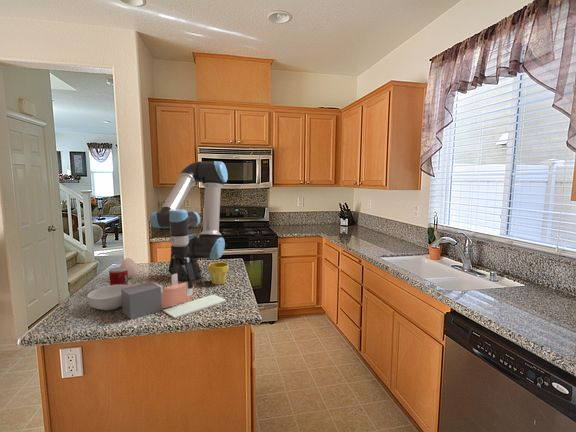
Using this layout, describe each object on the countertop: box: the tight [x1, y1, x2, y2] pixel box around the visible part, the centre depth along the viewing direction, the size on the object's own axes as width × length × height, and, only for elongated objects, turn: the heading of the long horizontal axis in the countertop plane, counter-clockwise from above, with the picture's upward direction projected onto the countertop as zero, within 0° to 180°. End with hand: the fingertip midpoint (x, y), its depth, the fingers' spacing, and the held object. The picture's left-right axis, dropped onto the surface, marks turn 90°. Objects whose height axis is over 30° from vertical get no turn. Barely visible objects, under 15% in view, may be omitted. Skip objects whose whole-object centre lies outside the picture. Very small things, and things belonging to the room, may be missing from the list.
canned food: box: [108, 266, 129, 286], centre depth 150 cm, size 8×8×11 cm
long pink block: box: [161, 282, 193, 309], centre depth 134 cm, size 20×5×7 cm, turn 136°
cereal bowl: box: [86, 284, 133, 311], centre depth 132 cm, size 17×17×7 cm
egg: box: [119, 257, 137, 280], centre depth 169 cm, size 8×8×11 cm
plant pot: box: [207, 261, 229, 286], centre depth 162 cm, size 10×10×10 cm
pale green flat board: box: [162, 294, 227, 319], centre depth 132 cm, size 24×10×1 cm, turn 136°
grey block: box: [121, 281, 164, 320], centre depth 127 cm, size 13×10×10 cm
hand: (182, 291), depth 139 cm, fingers open, 13 cm apart
